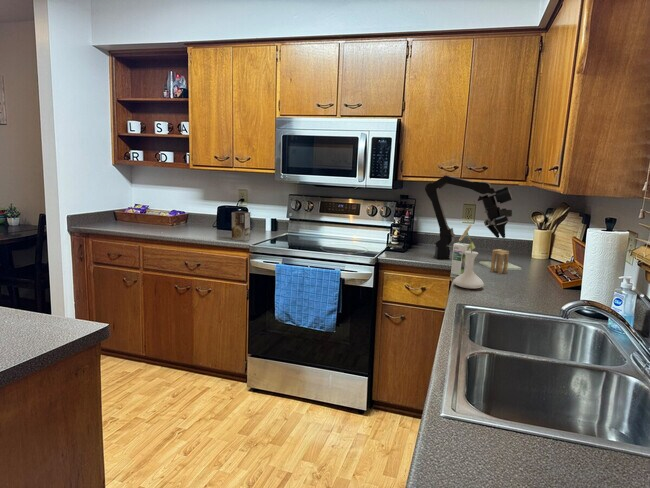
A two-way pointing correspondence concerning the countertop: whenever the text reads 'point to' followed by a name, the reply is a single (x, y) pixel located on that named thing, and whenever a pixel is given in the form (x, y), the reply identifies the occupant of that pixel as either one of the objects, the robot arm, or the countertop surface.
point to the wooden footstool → (499, 261)
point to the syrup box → (459, 259)
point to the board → (510, 267)
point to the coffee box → (241, 226)
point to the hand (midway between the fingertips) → (501, 237)
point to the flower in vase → (469, 268)
